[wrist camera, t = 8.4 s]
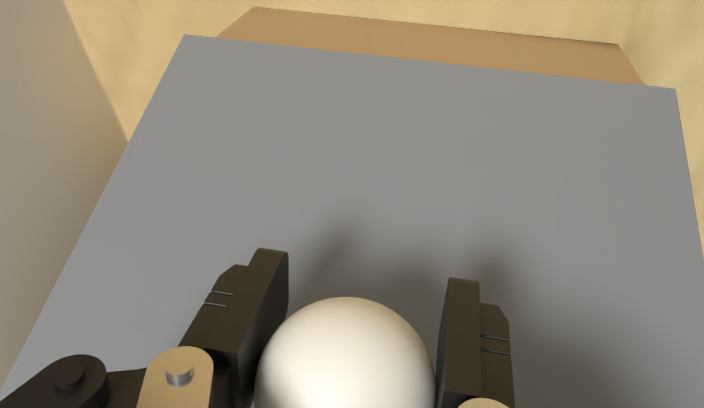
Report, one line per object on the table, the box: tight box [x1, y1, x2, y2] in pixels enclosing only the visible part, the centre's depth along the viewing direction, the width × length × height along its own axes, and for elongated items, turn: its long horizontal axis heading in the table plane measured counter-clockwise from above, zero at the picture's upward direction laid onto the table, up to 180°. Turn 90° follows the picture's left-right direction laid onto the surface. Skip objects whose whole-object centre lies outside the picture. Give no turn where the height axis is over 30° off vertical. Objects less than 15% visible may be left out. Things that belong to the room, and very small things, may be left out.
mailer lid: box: [0, 34, 704, 408], centre depth 17 cm, size 21×18×7 cm
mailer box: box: [215, 7, 644, 85], centre depth 33 cm, size 20×16×8 cm
